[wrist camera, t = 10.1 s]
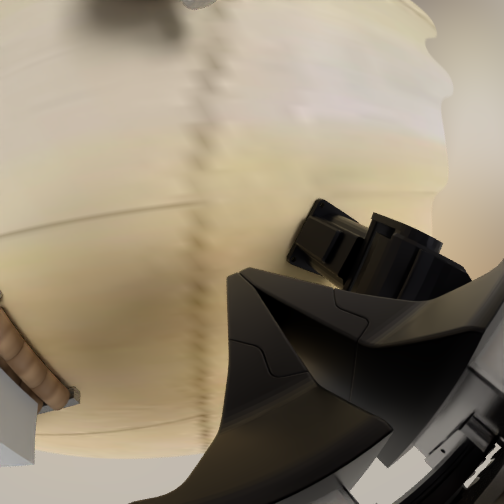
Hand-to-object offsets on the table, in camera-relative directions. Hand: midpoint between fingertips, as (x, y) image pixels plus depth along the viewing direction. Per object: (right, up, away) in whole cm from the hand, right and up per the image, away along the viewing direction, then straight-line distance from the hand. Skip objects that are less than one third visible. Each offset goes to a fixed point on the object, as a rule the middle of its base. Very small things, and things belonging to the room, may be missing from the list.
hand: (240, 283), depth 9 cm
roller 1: (-20, -8, +8) cm, 23 cm away
